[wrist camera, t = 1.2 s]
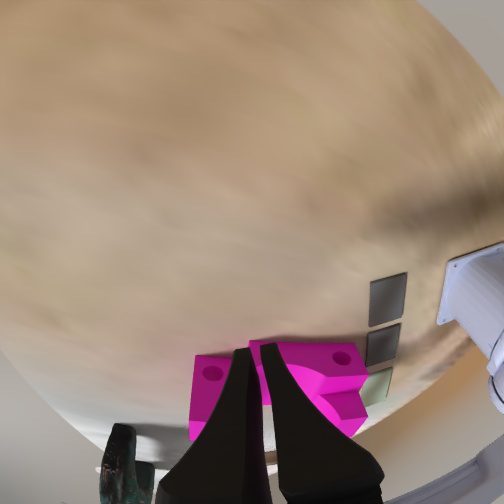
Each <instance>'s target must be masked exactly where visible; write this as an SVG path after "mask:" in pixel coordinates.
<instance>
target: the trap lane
mask: <svg viewBox="0 0 504 504" xmlns="http://www.w3.org/2000/svg"><path fill="white" fill-rule="evenodd" d="M405 283H406V273H401V274H398V275H394V276H391V277H387V278H384V279H380V280H376V281H373V282H370V306H369V327H373V326H376V325H380V324H383V323H386V322H389V321H392V320H395V319H399V318H401V317H402V309H403V301H404V293H405ZM399 330H400V324H399V323H398V324H395V325H392V326H389V327H386V328H383V329H380V330H376V331H373V332H370V333H368V340H367V352H366V363H365V366H366V367H369V366H372V365H375V364H378V363H381V362H384V361H387V360H390V359H393V358H395V353H396V348H397V342H398V336H399ZM391 373H392V367H390V368H387V369H384V370H381V371H378V372H375V373H372V374H369V376H368V377H367V379H366V381H365V382H364V384H363V389H362V396H361V400H362V402H363V405H364V407H367V406H370V405H373V404H376V403H379V402H382V401H385V398H386V394H387V390H388V386H389V382H390V377H391ZM265 459H266V466H268V465H275V464H277V452H276V451H271V452H265Z"/></svg>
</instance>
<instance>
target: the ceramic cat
mask: <svg viewBox="0 0 504 504" xmlns="http://www.w3.org/2000/svg"><path fill="white" fill-rule="evenodd" d="M135 456H136V431H135V430H134V429H133V428H132V427H131V426H125V425H120V424H116V423H115V424H114V426H113V428H112V432H111V434H110V437H109V439H108V442H107V446H106V449H105V453H104V456H103V459H102V464H101V473H100V501H101V504H151V501H152V495H153V489H154V476H155V468H154V466H153V465H152V464H150V463H146V462H141V461H135Z"/></svg>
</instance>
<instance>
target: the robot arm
mask: <svg viewBox="0 0 504 504" xmlns="http://www.w3.org/2000/svg"><path fill="white" fill-rule="evenodd" d="M453 319H456V321H457V322H458V323H459V324H460V325H461V326H462V328H463V329H464V330H465V331H466V332H467V334H468V335H469V336H470V337H471V338H472V340H473V341H474V342H475V343H476V345H477V346H478V347H479V348H480V350H481V351H482V352H483V353H484V355H485V356H486V357H487V358H488V360H489V361H490V362H489V364H488V366H487V367H486V368H487V370H488V371H489V373H490V374H491V375H490V377H489V379H488V388H489V393H490V397H491V399H492V401H493V403H494V405H495V406H496V408H497V409H498V410H499V411H500V412H501V413H503V414H504V243H499V244H497V245H494V246H491V247H488V248H485V249H483V250H480V251H477V252H474V253H471V254H468V255H465V256H462V257H459V258H456V259H453V260H450V261H449V262H448V264H447V269H446V276H445V282H444V287H443V293H442V298H441V303H440V308H439V312H438V317H437V321H436V323H437V324H438V325H442V324H444V323H446V322H449V321H451V320H453ZM260 357H261V362H262V366H263V370H264V374H265V378H266V382H267V386H268V390H269V394H270V399H271V404H272V412H273V421H274V431H275V441H276V452H277V465H278V479H279V489H280V491H281V492H282V494H283V496H284V497H285V499H286V501H287V504H490V503H492V502H493V501H494V500H496V499H497V498H498V497H500V496H501V495H502V494H504V434H503V435H502V436H501V437H499V438H498V439H496V440H495V441H494V442H492V443H491V444H489V445H488V446H487V447H485V448H484V449H483V450H482V451H480V452H479V453H478V454H477V455H476V457H475V458H473V459H471V460H470V461H468V462H467V463H465V464H463V465H462V466H460V467H458V468H457V469H455V470H453V471H451V472H450V473H447V474H446V475H444V476H442V477H440V478H438V479H436V480H434V481H432V482H430V483H428V484H426V485H424V486H422V487H420V488H417V489H415V490H413V491H411V492H408V493H406V494H404V495H401V496H399V497H396V498H394V499H392V500H389V501H386V502H383V501H382V497H381V494H382V491H381V488H380V483H381V482H382V480H383V479H384V476H385V475H384V473H383V470H382V468H381V466H380V465H379V464H378V462H377V461H376V459H375V458H374V457H373V456H372V455H371V453H370V452H368V451H367V450H366V449H364V448H363V447H361V446H360V445H358V444H357V443H355V442H354V441H353V440H351V439H350V438H349V437H348V436H346V435H345V434H344V433H343V432H342V431H340V430H339V429H338V428H337V427H336V426H335V425H334V424H333V423H332V422H330V421H329V420H328V419H327V418H326V417H325V416H324V415H323V414H322V413H321V412H320V411H319V409H318V408H317V407H316V406H315V405H314V404H313V403H312V402H311V400H310V399H309V398H308V397H307V395H306V394H305V393H304V392H303V390H302V389H301V388H300V386H299V385H298V383H297V382H296V380H295V379H294V377H293V376H292V374H291V373H290V371H289V369H288V368H287V366H286V364H285V362H284V360H283V358H282V356H281V354H280V351H279V348H278V345H277V343H275V342H273V343H268V344H263V345H260ZM61 504H66V503H63V502H62V503H61ZM155 504H273V503H272V497H271V491H270V486H269V479H268V473H267V466H266V459H265V452H264V442H263V409H262V393H261V386H260V380H259V375H258V372H257V369H256V365H255V362H254V359H253V356H252V353H251V349H250V347H247V348H242V349H236V350H235V351H234V352H233V357H232V361H231V365H230V368H229V372H228V375H227V378H226V380H225V383H224V386H223V389H222V391H221V394H220V396H219V398H218V400H217V403H216V405H215V407H214V409H213V411H212V413H211V415H210V417H209V419H208V421H207V422H206V424H205V426H204V428H203V429H202V431H201V432H200V434H199V435H198V437H197V438H196V440H195V441H194V443H193V444H192V446H191V447H190V448H189V449H188V451H187V452H186V453H185V454H184V456H183V457H182V458H181V459H180V461H179V462H178V463H177V464H176V465H175V466H174V467H173V468H172V469H171V470H170V471H169V472H168V473H167V474H166V475H165V476H164V477H163V478H162V479H161V480H160V481H159V484H158V488H157V492H156V499H155Z"/></svg>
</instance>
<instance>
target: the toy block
mask: <svg viewBox="0 0 504 504" xmlns="http://www.w3.org/2000/svg"><path fill="white" fill-rule="evenodd" d="M268 343H273V342H265V341H249V344H248V347H250V349H251V353H252V356H253V359H254V362H255V365H256V369H257V372H258V375H259V380H260V386H261V393H262V405H272V404H271V399H270V394H269V390H268V386H267V382H266V378H265V374H264V370H263V366H262V362H261V357H260V345H263V344H268ZM275 343H277V345H278V348H279V351H280V354H281V356H282V358H283V360H284V362H285V364H286V366H287V368H288V369H289V371H290V373H291V374H292V376H293V377H294V379H295V380H296V382H297V383H298V385H299V386H300V388H301V389H302V390H303V392H304V393H305V394H306V395H307V397H308V398H309V399H310V400H311V402H312V403H313V404H314V405H315V406H316V407H317V408H318V409H319V411H320V412H321V413H322V414H323V415H324V416H325V417H326V418H327V419H328V420H329V421H330V422H332V423H333V424H334V425H335V426H336V427H337V428H338V429H339V430H340V431H342V432H343V433H344V434H345V435H346V436H348V437H352V436H353V435H354V434H355V433H356V431H357V430H358V429H359V428H360V427H361V425H362V424H363V423H364V421H365V420H366V419H367V418H368V415H367V412H366V410H365V407H364V405H363V402H362V400H361V397H360V394H359V390H360V389H361V387H362V386H363V384H364V382H365V381H366V379H367V377H368V376H369V373H368V371H367V369H366V367H365V365H364V363H363V361H362V358H361V356H360V354H359V352H358V350H357V348H356V346H355V344H354V343H287V342H275ZM231 361H232V359H231V358H219V357H207V356H197V355H195V364H194V373H193V382H192V392H191V402H190V413H189V439H190V441H195V440H196V438H197V437H198V435H199V434H200V432H201V431H202V429H203V428H204V426H205V424H206V422H207V421H208V419H209V417H210V415H211V413H212V411H213V409H214V407H215V405H216V403H217V400H218V398H219V396H220V394H221V391H222V389H223V386H224V383H225V380H226V378H227V375H228V372H229V368H230V365H231Z"/></svg>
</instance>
